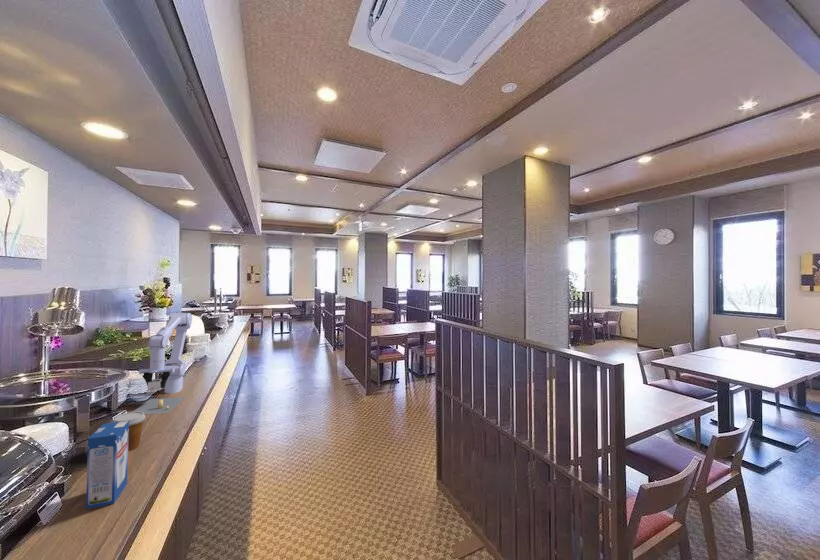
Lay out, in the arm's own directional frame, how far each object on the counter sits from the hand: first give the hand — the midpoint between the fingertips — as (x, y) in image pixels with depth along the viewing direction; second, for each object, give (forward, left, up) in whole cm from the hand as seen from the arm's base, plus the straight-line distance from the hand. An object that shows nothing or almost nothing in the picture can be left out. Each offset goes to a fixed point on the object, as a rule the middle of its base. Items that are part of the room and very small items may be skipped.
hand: (156, 387), depth 164 cm
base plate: (+4, +3, -9) cm, 10 cm away
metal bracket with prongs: (+1, 0, -1) cm, 2 cm away
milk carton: (+73, +18, -9) cm, 75 cm away
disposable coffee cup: (+43, +9, -9) cm, 45 cm away
